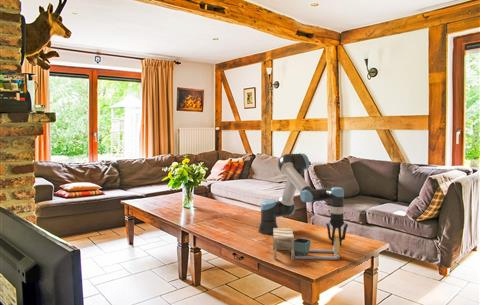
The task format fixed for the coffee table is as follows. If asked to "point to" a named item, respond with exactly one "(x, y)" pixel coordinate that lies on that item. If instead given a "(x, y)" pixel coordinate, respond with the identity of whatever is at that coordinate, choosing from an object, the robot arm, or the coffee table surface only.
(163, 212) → the coffee table surface
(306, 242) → the flower pot
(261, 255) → the coffee table surface
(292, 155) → the robot arm
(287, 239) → the shelf
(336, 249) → the frame with square tube
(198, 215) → the coffee table surface
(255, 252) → the coffee table surface
